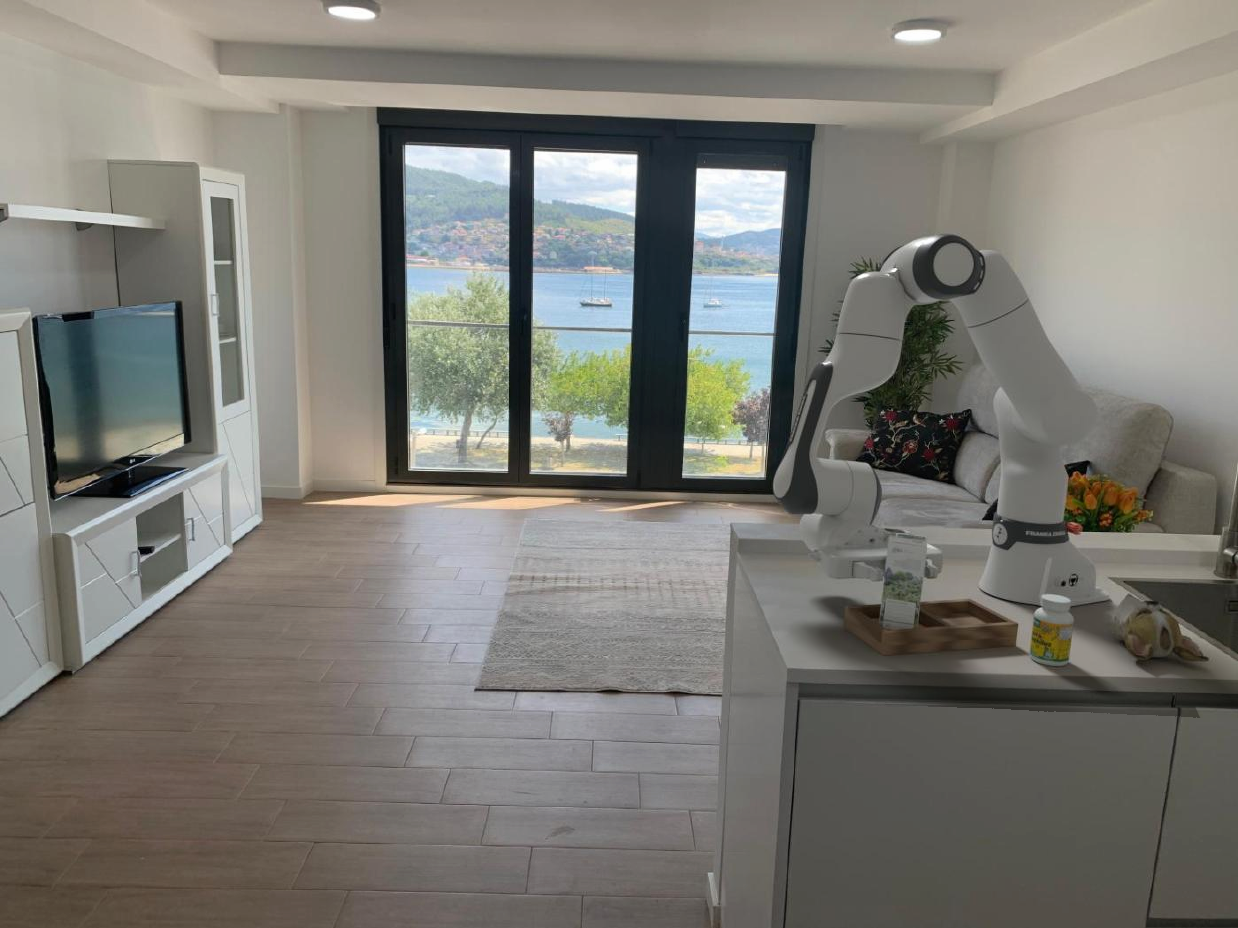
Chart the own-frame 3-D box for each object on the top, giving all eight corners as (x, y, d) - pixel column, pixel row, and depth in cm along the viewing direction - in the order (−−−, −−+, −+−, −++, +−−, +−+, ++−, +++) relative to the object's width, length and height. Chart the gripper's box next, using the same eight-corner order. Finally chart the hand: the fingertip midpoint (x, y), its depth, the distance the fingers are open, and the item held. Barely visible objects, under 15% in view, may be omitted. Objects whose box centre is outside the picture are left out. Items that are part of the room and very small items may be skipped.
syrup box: (917, 624, 150) (928, 534, 147) (916, 636, 144) (927, 543, 141) (880, 618, 151) (889, 530, 149) (877, 630, 146) (887, 538, 143)
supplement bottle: (1076, 664, 140) (1085, 602, 138) (1049, 668, 138) (1057, 605, 136) (1047, 651, 145) (1055, 590, 143) (1020, 655, 143) (1028, 594, 141)
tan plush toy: (1163, 584, 152) (1220, 623, 137) (1154, 635, 154) (1210, 678, 139) (1096, 583, 152) (1147, 620, 137) (1088, 633, 154) (1137, 676, 139)
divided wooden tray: (967, 618, 158) (970, 598, 158) (1015, 645, 147) (1018, 623, 146) (843, 626, 152) (845, 606, 151) (883, 655, 141) (885, 632, 140)
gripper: (804, 533, 155) (847, 557, 142) (915, 529, 160) (965, 552, 147) (802, 571, 156) (843, 598, 143) (911, 565, 162) (961, 591, 149)
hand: (906, 575), depth 145 cm, fingers open, 8 cm apart
